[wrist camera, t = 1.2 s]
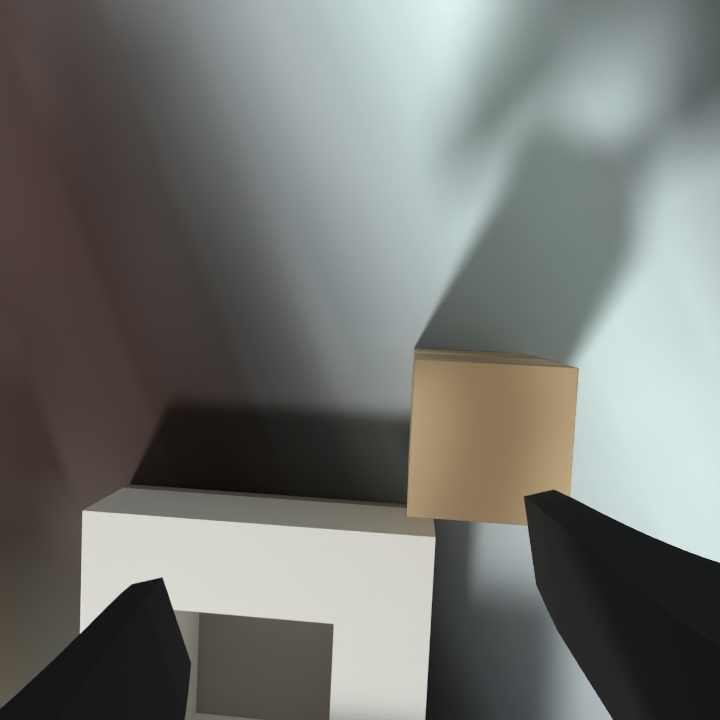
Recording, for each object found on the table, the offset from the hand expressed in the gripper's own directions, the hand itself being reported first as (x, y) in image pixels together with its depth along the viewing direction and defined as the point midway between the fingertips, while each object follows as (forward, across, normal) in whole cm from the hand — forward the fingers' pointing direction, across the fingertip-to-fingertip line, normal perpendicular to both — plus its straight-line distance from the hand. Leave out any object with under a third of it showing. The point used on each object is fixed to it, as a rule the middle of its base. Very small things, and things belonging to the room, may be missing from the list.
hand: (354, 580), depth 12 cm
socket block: (+11, +4, +9) cm, 15 cm away
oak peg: (+11, -5, +1) cm, 12 cm away
